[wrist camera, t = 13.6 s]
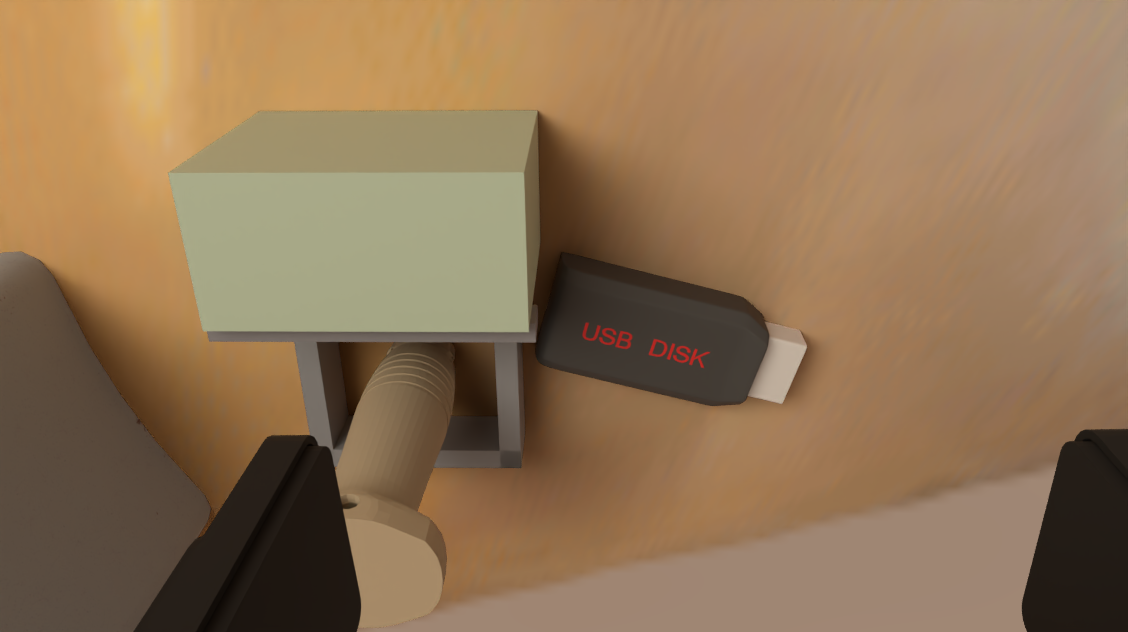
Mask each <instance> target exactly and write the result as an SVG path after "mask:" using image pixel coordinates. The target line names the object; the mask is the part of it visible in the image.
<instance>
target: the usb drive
mask: <svg viewBox="0 0 1128 632" xmlns="http://www.w3.org/2000/svg"><path fill="white" fill-rule="evenodd" d="M806 349H807V345H806V343H805V340H804V338H803V336H802V334H801V332H800V330H798V329H794V328H790V327H786V326H781V325H777V324H773V323H769V322H765V321H764V319H763V316H762V314H761V313H760V312H759V311H758V310H757V309H756V308H755V307H754V306H752V305H751V304H750V303H749V302H748V301H747V300H746V299H744V298H743V297H741V296H737V295H734V294H730V293H726V292H722V291H718V290H714V289H710V288H706V287H702V286H698V285H694V284H690V283H686V282H682V281H678V280H674V279H670V278H666V277H662V276H658V275H654V274H650V273H646V272H642V271H638V270H634V269H630V268H626V267H622V266H617V265H613V264H609V263H605V262H601V261H597V260H593V259H589V258H585V257H581V256H577V255H573V254H569V253H564V252H562V253H561V257H560V261H559V264H558V268H557V271H556V275H555V279H554V282H553V286H552V289H551V293H550V297H549V300H548V304H547V307H546V311H545V315H544V318H543V322H542V325H541V329H540V333H539V336H538V340H537V343H536V348H535V354H536V358H537V360H538V362H540V363H541V364H542V365H545V366H547V367H550V368H554V369H557V370H561V371H565V372H569V373H574V374H578V375H582V376H586V377H591V378H595V379H599V380H603V381H607V382H612V383H616V384H620V385H624V386H629V387H633V388H637V389H641V390H645V391H650V392H654V393H658V394H662V395H667V396H671V397H675V398H679V399H683V400H688V401H692V402H696V403H700V404H705V405H710V406H721V405H736V404H741V403H743V402H744V401H745V400H746V398H747V396H750V397H754V398H758V399H762V400H767V401H771V402H775V403H779V404H782V403H783V401H784V399H785V396H786V394H787V392H788V390H789V387H790V385H791V383H792V381H793V378H794V376H795V374H796V371H797V369H798V367H799V365H800V362H801V360H802V358H803V356H804V353H805V351H806Z"/></svg>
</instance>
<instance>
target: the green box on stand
mask: <svg viewBox="0 0 1128 632" xmlns="http://www.w3.org/2000/svg"><path fill="white" fill-rule="evenodd" d="M168 175H169V180H170V184H171V189H172V193H173V198H174V202H175V207H176V211H177V216H178V220H179V225H180V229H181V234H182V239H183V243H184V248H185V252H186V257H187V261H188V266H189V270H190V275H191V279H192V284H193V288H194V293H195V298H196V302H197V307H198V311H199V316H200V320H201V325H202V329H203V331H207V334H208V338H209V341H222V342H294V343H295V349H296V355H297V361H298V367H299V373H300V379H301V385H302V391H303V397H304V403H305V409H306V415H307V420H308V426H309V432H310V435H311V436H313V437H315V439H316V440H317V442H318V445H319V446H327V447H329V449H330V451H331V454H332V457H333V462H334V467H337V465H338V463H339V460H340V457H341V454H342V451H343V448H344V445H345V442H346V439H347V436H348V432H349V429H350V426H351V423H352V420H353V417H354V415H348V407H347V400H346V393H345V386H344V379H343V372H342V365H341V358H340V351H339V344H338V342H494V347H495V367H496V387H497V407H498V416H451V418H450V422H449V426H448V429H447V433H446V436H445V439H444V442H443V444H442V447H441V449H440V452H439V454H438V457H437V460H436V462H435V465H434V467H433V468H521V466H522V458H523V449H524V440H525V411H524V382H523V352H522V342H534V343H536V336H537V327H538V305H532V304H533V296H534V288H535V280H536V273H537V265H538V257H539V249H540V197H539V152H538V110H522V111H259V112H258V113H256V114H255V115H253V116H252V117H250V118H249V119H247V120H246V121H244V122H243V123H241V124H240V125H238V126H237V127H235V128H234V129H232V130H231V131H229V132H228V133H226V134H225V135H224V136H222V137H221V138H219V139H218V140H216V141H215V142H213V143H212V144H210V145H209V146H207V147H206V148H204V149H203V150H201V151H200V152H198V153H197V154H195V155H194V156H192V157H191V158H189V159H188V160H187V161H185V162H184V163H182V164H181V165H179V166H178V167H176V168H175V169H173V170H172V171H170V172H169V173H168Z"/></svg>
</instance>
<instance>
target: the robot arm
mask: <svg viewBox="0 0 1128 632" xmlns="http://www.w3.org/2000/svg"><path fill="white" fill-rule="evenodd" d="M360 616H361V596H360V591H359V586H358V581H357V576H356V571H355V566H354V561H353V556H352V551H351V546H350V541H349V537H348V532H347V527H346V522H345V517H344V512H343V507H342V502H341V497H340V492H339V487H338V482H337V477H336V472H335V467H334V462H333V457H332V454H331V451H330V449H329V447H327V446H319V445H318V442H317V440H316V439H315V437H313V436H311V435H280V436H269V437H267V438H266V439H265V441H264V442H263V443H262V445H261V447H260V448H259V450H258V451H257V453H256V454H255V456H254V457H253V459H252V461H251V462H250V464H249V465H248V467H247V468H246V470H245V472H244V473H243V475H242V476H241V478H240V479H239V481H238V483H237V484H236V486H235V487H234V489H233V490H232V492H231V494H230V495H229V497H228V498H227V500H226V501H225V503H224V504H223V506H222V508H221V509H220V511H219V512H218V514H217V515H216V517H215V519H214V520H213V522H212V523H211V525H210V526H209V528H208V530H207V531H206V533H205V534H204V535H203V536H201V537H199V538H197V539H195V540H194V541H193V543H192V544H191V545H190V546H189V547H188V548H187V550H186V551H185V553H184V555H183V556H182V558H181V559H180V561H179V562H178V564H177V565H176V567H175V568H174V570H173V571H172V573H171V575H170V576H169V578H168V579H167V581H166V582H165V584H164V585H163V587H162V588H161V590H160V591H159V593H158V595H157V596H156V598H155V599H154V601H153V602H152V604H151V605H150V607H149V608H148V610H147V611H146V613H145V615H144V616H143V618H142V619H141V621H140V622H139V624H138V625H137V627H136V628H135V630H134V631H133V632H357V629H358V626H359V622H360ZM1022 616H1023V621H1024V625H1025V628H1026V630H1027V632H1128V429H1100V430H1084V431H1081V432H1080V433H1079V434H1078V435H1077V436H1076V439H1075V441H1069V442H1067V443H1065V444H1064V445H1063V447H1062V449H1061V452H1060V456H1059V460H1058V463H1057V467H1056V471H1055V475H1054V479H1053V483H1052V487H1051V491H1050V495H1049V499H1048V503H1047V506H1046V511H1045V514H1044V518H1043V522H1042V526H1041V530H1040V534H1039V538H1038V542H1037V546H1036V550H1035V554H1034V558H1033V562H1032V565H1031V569H1030V573H1029V577H1028V581H1027V585H1026V589H1025V593H1024V597H1023V601H1022Z"/></svg>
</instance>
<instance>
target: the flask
mask: <svg viewBox="0 0 1128 632" xmlns="http://www.w3.org/2000/svg"><path fill="white" fill-rule="evenodd" d="M210 510H211V507H210V505H209V503H208V501H207V499H206V497H205V495H204V494H203V493H202V492H201V491H200V490H199V489H198V487H197V486H196V485H195V484H194V483H193V482H192V481H191V480H190V479H189V478H188V476H187V475H186V474H185V473H184V472H183V471H182V470H181V469H180V468H179V466H178V465H177V464H176V463H175V462H174V461H173V460H172V459H171V458H170V456H169V455H168V454H167V453H166V452H165V451H164V450H163V449H162V448H161V446H160V445H159V444H158V443H157V442H156V441H155V440H154V438H153V437H152V436H151V434H150V433H149V432H148V431H147V429H146V428H145V427H144V425H143V424H142V423H141V421H140V420H139V419H138V417H137V416H136V415H135V413H134V412H133V411H132V410H131V408H130V407H129V406H128V404H127V403H126V402H125V400H124V399H123V398H122V396H121V395H120V393H119V392H118V390H117V389H116V387H115V385H114V384H113V382H112V381H111V379H110V378H109V376H108V374H107V373H106V371H105V370H104V368H103V367H102V365H101V363H100V362H99V360H98V359H97V357H96V356H95V354H94V353H93V351H92V349H91V348H90V346H89V344H88V342H87V340H86V338H85V336H84V334H83V332H82V330H81V328H80V327H79V325H78V323H77V321H76V319H75V317H74V315H73V313H72V311H71V309H70V307H69V306H68V304H67V302H66V300H65V298H64V296H63V294H62V292H61V290H60V288H59V286H58V284H57V283H56V281H55V279H54V277H53V275H52V274H51V273H50V272H49V270H48V269H47V268H46V267H45V266H44V265H43V264H42V262H41V261H40V260H38V259H36V258H34V257H32V256H29V255H27V254H25V253H23V252H5V253H0V632H133V631H134V630H135V628H136V627H137V625H138V624H139V622H140V621H141V619H142V618H143V616H144V615H145V613H146V611H147V610H148V608H149V607H150V605H151V604H152V602H153V601H154V599H155V598H156V596H157V595H158V593H159V591H160V590H161V588H162V587H163V585H164V584H165V582H166V581H167V579H168V578H169V576H170V575H171V573H172V571H173V570H174V568H175V567H176V565H177V564H178V562H179V561H180V559H181V558H182V556H183V555H184V553H185V551H186V550H187V548H188V547H189V546H190V545H191V544H192V543H193V541H194V540H195V539H197V538H198V536H199V535H200V533H201V531H202V530H203V528H204V526H205V525H206V523H207V521H208V519H209V515H210Z"/></svg>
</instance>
